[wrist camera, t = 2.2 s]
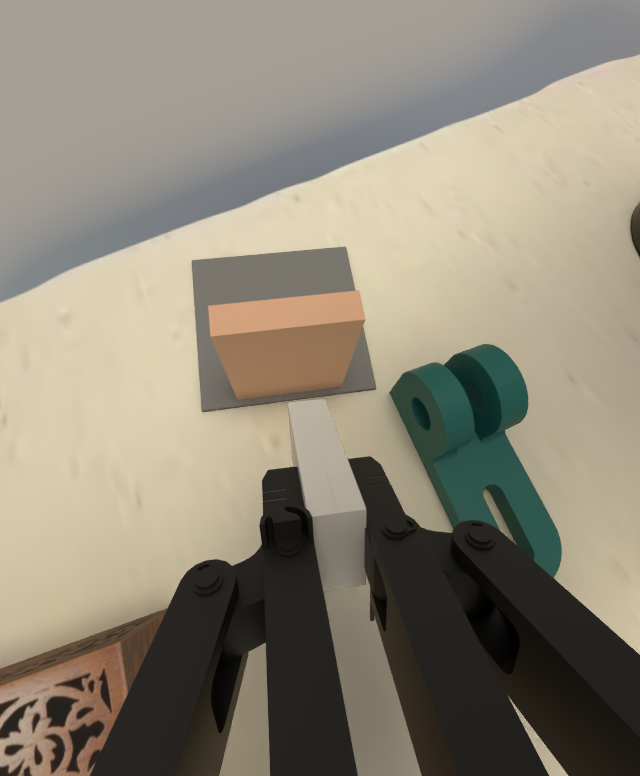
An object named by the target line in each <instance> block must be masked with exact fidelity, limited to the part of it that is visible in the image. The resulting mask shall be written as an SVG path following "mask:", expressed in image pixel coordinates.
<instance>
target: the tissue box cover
mask: <svg viewBox="0 0 640 776" xmlns="http://www.w3.org/2000/svg"><path fill="white" fill-rule="evenodd" d="M167 609H168V608H167ZM167 609H165V610H162V611H159V612H156V613H154V614H151V615H148V616H145V617H143V618H140V619H137V620H134V621H132V622H129V623H126V624H123V625H121V626H118V627H115V628H112V629H109V630H107V631H104V632H101V633H98V634H96V635H93V636H90V637H87V638H85V639H82V640H79V641H76V642H74V643H71V644H68V645H65V646H63V647H60V648H57V649H54V650H52V651H49V652H46V653H43V654H41V655H38V656H35V657H32V658H30V659H27V660H24V661H21V662H18V663H16V664H13V665H10V666H7V667H5V668H2V669H0V776H90V774H91V772H92V769H93V767H94V765H95V763H96V761H97V759H98V757H99V754H100V752H101V750H102V748H103V746H104V744H105V742H106V739H107V737H108V735H109V733H110V731H111V729H112V727H113V724H114V722H115V720H116V718H117V716H118V714H119V712H120V710H121V707H122V705H123V703H124V701H125V699H126V697H127V695H128V692H129V690H130V688H131V686H132V684H133V682H134V680H135V677H136V675H137V673H138V671H139V669H140V667H141V665H142V662H143V660H144V658H145V656H146V654H147V652H148V650H149V647H150V645H151V643H152V641H153V639H154V637H155V635H156V633H157V630H158V628H159V626H160V624H161V622H162V620H163V618H164V615H165V613H166V611H167Z"/></svg>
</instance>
